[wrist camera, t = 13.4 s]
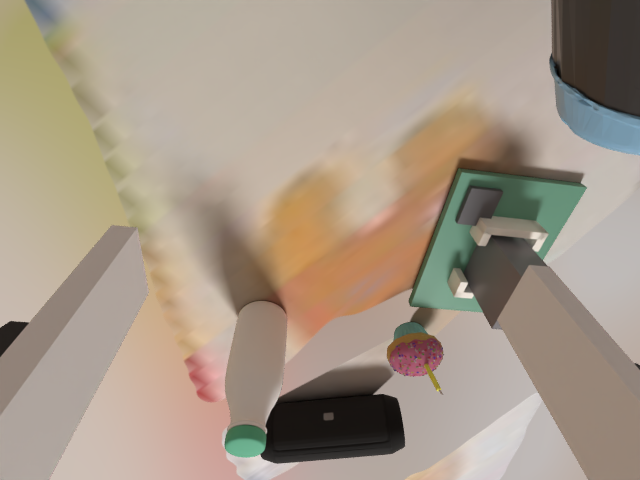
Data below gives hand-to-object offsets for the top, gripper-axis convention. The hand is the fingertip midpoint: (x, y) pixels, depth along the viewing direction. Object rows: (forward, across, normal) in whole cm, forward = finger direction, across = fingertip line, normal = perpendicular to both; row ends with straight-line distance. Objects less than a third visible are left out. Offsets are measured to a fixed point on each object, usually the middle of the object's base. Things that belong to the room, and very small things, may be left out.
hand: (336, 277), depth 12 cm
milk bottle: (+31, -4, -35) cm, 47 cm away
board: (+31, +26, -18) cm, 44 cm away
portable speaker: (+31, +10, -58) cm, 66 cm away
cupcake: (+31, +20, -36) cm, 51 cm away
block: (+29, +26, -18) cm, 43 cm away
